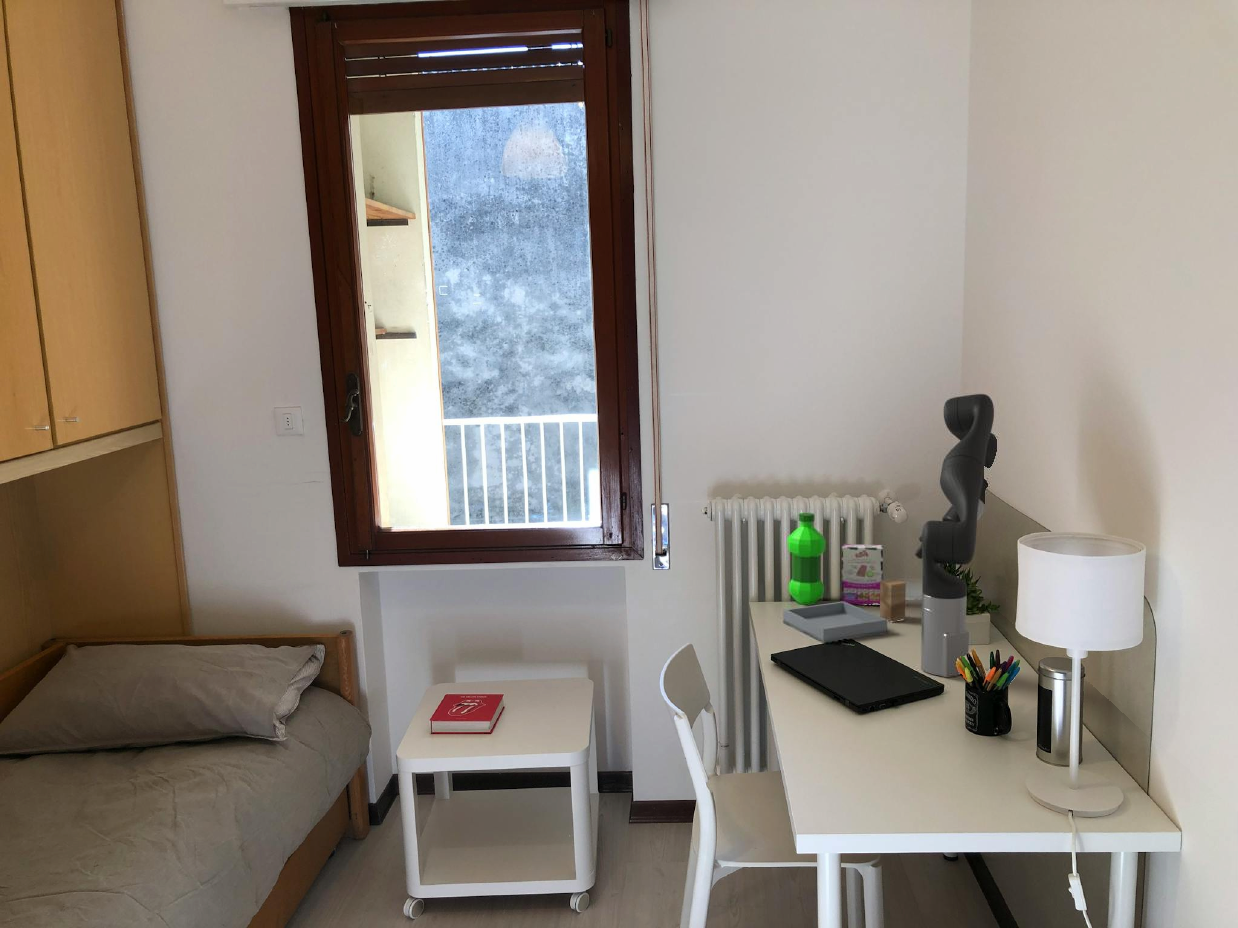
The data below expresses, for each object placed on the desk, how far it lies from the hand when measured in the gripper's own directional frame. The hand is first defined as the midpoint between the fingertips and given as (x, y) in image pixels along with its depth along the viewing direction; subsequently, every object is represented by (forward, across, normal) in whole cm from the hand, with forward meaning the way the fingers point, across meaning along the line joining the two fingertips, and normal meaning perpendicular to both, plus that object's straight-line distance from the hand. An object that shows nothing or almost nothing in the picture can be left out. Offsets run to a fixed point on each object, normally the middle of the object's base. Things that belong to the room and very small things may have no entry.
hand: (928, 560), depth 248 cm
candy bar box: (+17, -16, +4) cm, 24 cm away
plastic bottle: (+26, -24, -5) cm, 36 cm away
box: (+31, 0, -10) cm, 33 cm away
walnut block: (+18, 0, +3) cm, 18 cm away
